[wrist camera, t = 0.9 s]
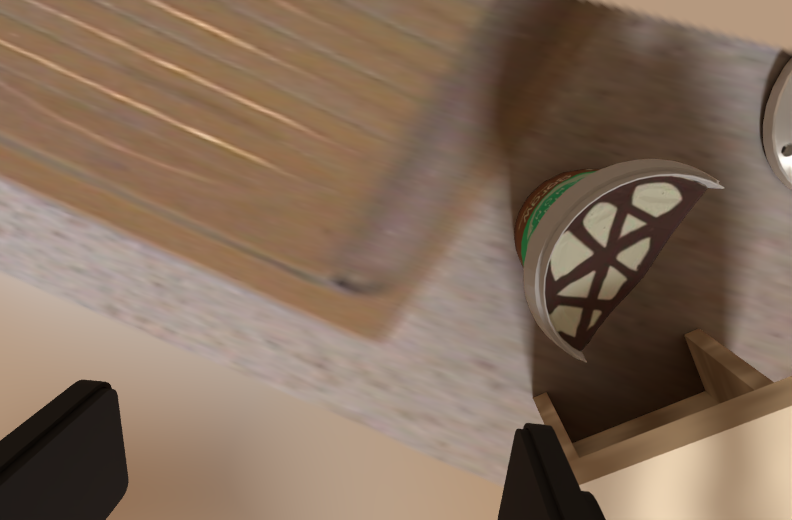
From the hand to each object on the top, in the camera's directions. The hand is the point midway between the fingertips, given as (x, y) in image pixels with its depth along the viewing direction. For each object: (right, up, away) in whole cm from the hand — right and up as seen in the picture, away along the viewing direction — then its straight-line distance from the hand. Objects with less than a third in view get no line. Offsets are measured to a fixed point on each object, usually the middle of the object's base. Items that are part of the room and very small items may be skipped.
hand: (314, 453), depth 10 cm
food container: (+13, +8, +22) cm, 27 cm away
